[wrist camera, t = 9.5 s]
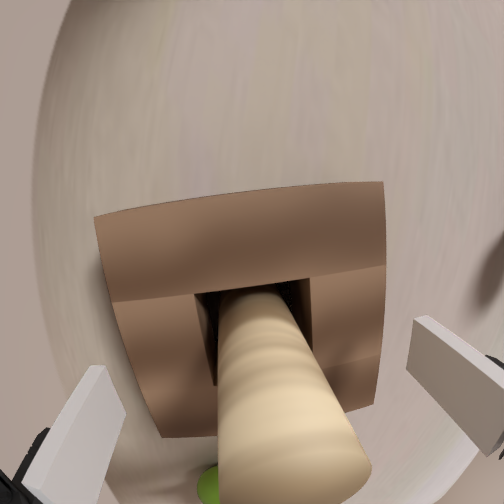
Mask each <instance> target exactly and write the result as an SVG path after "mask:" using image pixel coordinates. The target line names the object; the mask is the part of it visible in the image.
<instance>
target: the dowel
mask: <svg viewBox="0 0 504 504" xmlns="http://www.w3.org/2000/svg"><path fill="white" fill-rule="evenodd" d="M371 471H372V465H371V463H370V460H369V459H368V457H367V455H366V453H365V451H364V449H363V447H362V445H361V443H360V442H359V440H358V438H357V436H356V434H355V432H354V430H353V428H352V426H351V425H350V423H349V421H348V419H347V417H346V415H345V413H344V411H343V409H342V408H341V406H340V404H339V402H338V400H337V398H336V396H335V394H334V393H333V391H332V389H331V387H330V385H329V383H328V381H327V379H326V378H325V376H324V374H323V372H322V370H321V368H320V366H319V364H318V363H317V361H316V359H315V357H314V355H313V353H312V351H311V350H310V348H309V346H308V344H307V342H306V340H305V338H304V337H303V335H302V333H301V331H300V329H299V327H298V325H297V324H296V322H295V320H294V318H293V316H292V314H291V312H290V311H289V309H288V307H287V305H286V303H285V301H284V299H283V298H282V296H281V294H280V292H279V290H278V288H277V286H276V285H275V283H271V284H264V285H257V286H250V287H243V288H235V289H228V290H221V293H220V297H219V327H218V480H219V501H220V504H340V503H342V502H344V501H345V500H347V499H348V498H350V497H351V496H353V495H354V494H355V493H356V492H358V491H359V490H360V489H361V488H362V487H363V486H364V484H365V483H366V482H367V480H368V479H369V477H370V475H371Z"/></svg>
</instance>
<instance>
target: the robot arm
mask: <svg viewBox="0 0 504 504" xmlns="http://www.w3.org/2000/svg"><path fill="white" fill-rule="evenodd" d="M406 369H407V371H408V372H409V373H410V374H411V375H412V376H413V377H414V378H415V379H416V380H417V381H418V382H419V383H420V384H421V385H422V386H423V387H424V389H425V390H426V391H427V392H428V393H429V394H430V395H431V396H432V397H433V398H434V399H435V400H436V401H437V403H438V404H439V405H440V406H441V407H442V408H443V409H444V410H445V411H446V412H447V413H448V415H449V416H450V417H451V418H452V419H453V420H454V421H455V422H456V423H457V424H458V426H459V427H460V428H461V429H462V430H463V431H464V432H465V433H466V434H467V436H468V437H469V438H470V439H471V440H472V441H473V442H474V443H475V445H476V446H477V447H478V448H479V449H480V450H481V451H482V453H483V454H484V455H485V456H486V457H488V456H489V455H490V454H492V453H493V452H494V451H495V450H497V449H498V448H499V447H500V446H501V444H502V443H503V441H504V363H502V362H501V361H499V360H498V359H496V358H494V357H491V356H488V355H485V356H484V355H483V354H482V353H480V352H479V351H477V350H476V349H475V348H473V347H472V346H471V345H469V344H468V343H466V342H465V341H464V340H462V339H461V338H459V337H458V336H457V335H455V334H454V333H452V332H451V331H449V330H448V329H447V328H445V327H444V326H442V325H441V324H439V323H438V322H436V321H435V320H434V319H432V318H431V317H429V316H428V315H424V316H421V317H417V318H414V320H413V328H412V336H411V342H410V349H409V355H408V361H407V366H406ZM126 414H127V413H126V411H125V409H124V407H123V405H122V403H121V401H120V399H119V396H118V394H117V392H116V390H115V387H114V385H113V383H112V380H111V378H110V376H109V373H108V371H107V368H106V366H105V365H90V367H89V368H88V370H87V371H86V373H85V374H84V376H83V377H82V379H81V380H80V382H79V383H78V385H77V386H76V388H75V390H74V391H73V393H72V394H71V396H70V398H69V399H68V401H67V402H66V404H65V406H64V407H63V409H62V411H61V412H60V414H59V415H58V417H57V419H56V420H55V422H54V424H53V425H52V427H51V428H45V429H44V430H43V431H42V432H41V433H40V434H38V435H37V437H36V439H35V440H34V442H33V444H32V447H30V449H29V451H28V454H26V456H25V458H24V460H23V461H22V463H21V465H20V467H19V469H18V470H17V472H16V474H15V476H14V478H13V480H12V481H11V480H10V479H9V478H8V477H7V476H6V475H5V474H4V473H3V472H2V470H1V469H0V504H97V502H98V498H99V495H100V491H101V488H102V485H103V482H104V479H105V475H106V472H107V469H108V466H109V463H110V460H111V457H112V454H113V451H114V448H115V445H116V442H117V439H118V436H119V433H120V431H121V428H122V425H123V422H124V419H125V417H126ZM503 456H504V450H503V451H502V452H501V454H500V456H499V460H500V459H502V457H503Z"/></svg>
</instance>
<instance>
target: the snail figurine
mask: <svg viewBox="0 0 504 504" xmlns="http://www.w3.org/2000/svg"><path fill="white" fill-rule="evenodd" d="M197 493H198V496H199V498H200V500H201V501H202V503H203V504H220V501H219V480H218V466H214V467H212V468H210V469H208V470H206V471H205V472H204V473H203V474H202V475H201V477H200V478H199V480H198V483H197Z"/></svg>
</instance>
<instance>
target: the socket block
mask: <svg viewBox="0 0 504 504" xmlns="http://www.w3.org/2000/svg"><path fill="white" fill-rule="evenodd" d="M94 223H95V229H96V235H97V241H98V246H99V251H100V256H101V261H102V265H103V270H104V274H105V278H106V283H107V287H108V291H109V295H110V298H111V302H112V306H113V310H114V313H115V317H116V320H117V323H118V327H119V330H120V333H121V336H122V339H123V343H124V346H125V349H126V352H127V354H128V357H129V360H130V363H131V366H132V369H133V371H134V374H135V377H136V379H137V382H138V384H139V387H140V389H141V392H142V394H143V397H144V399H145V402H146V404H147V406H148V409H149V411H150V413H151V416H152V418H153V420H154V422H155V424H156V426H157V429H158V431H159V433H160V435H161V437H162V438H182V437H205V436H218V342H215V339H214V334H213V329H212V324H211V319H210V313H209V308H208V302H207V297H206V292H212V291H220V290H228V289H235V288H243V287H250V286H257V285H264V284H271V283H278V282H284V281H290V288H291V301H292V315H293V318H294V320H295V322H296V324H297V325H298V327H299V329H300V331H301V333H302V335H303V337H304V338H305V340H306V342H307V344H308V346H309V348H310V350H311V351H312V353H313V355H314V357H315V359H316V361H317V363H318V364H319V366H320V368H321V370H322V372H323V374H324V376H325V378H326V379H327V381H328V383H329V385H330V387H331V389H332V391H333V393H334V394H335V396H336V398H337V400H338V402H339V404H340V406H341V408H342V409H343V411H344V413H346V412H350V411H353V410H356V409H360V408H363V407H366V406H369V405H372V404H373V403H374V398H375V392H376V385H377V379H378V372H379V364H380V356H381V347H382V337H383V326H384V312H385V293H386V218H385V199H384V185H383V182H342V183H328V184H315V185H303V186H292V187H281V188H271V189H262V190H253V191H245V192H236V193H228V194H221V195H213V196H206V197H199V198H192V199H185V200H179V201H172V202H166V203H160V204H154V205H148V206H143V207H137V208H131V209H126V210H122V211H117V212H113V213H109V214H105V215H101V216H96V217H94Z"/></svg>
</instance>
